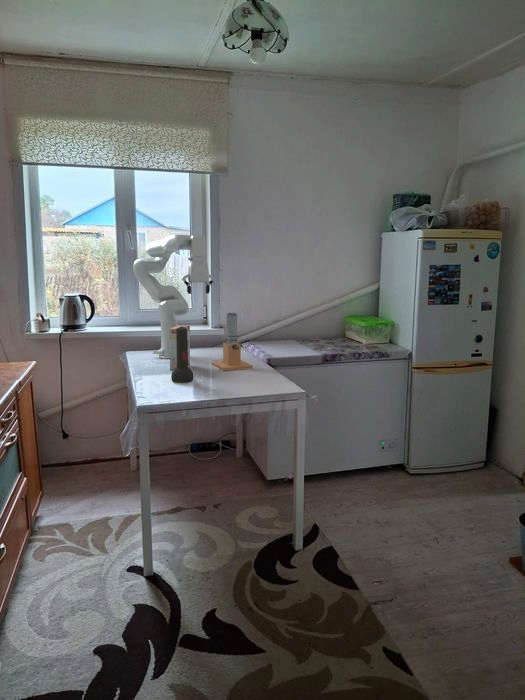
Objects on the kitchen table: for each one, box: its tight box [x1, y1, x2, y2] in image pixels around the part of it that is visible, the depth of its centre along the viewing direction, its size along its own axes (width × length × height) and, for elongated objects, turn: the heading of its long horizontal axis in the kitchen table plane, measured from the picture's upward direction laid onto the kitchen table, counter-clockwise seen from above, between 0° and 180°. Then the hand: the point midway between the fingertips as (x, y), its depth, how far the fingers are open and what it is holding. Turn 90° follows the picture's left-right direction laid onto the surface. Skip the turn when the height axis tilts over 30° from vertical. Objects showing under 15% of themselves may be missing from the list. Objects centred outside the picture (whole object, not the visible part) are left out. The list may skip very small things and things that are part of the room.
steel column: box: [225, 312, 239, 345], centre depth 255 cm, size 5×5×20 cm
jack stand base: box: [211, 342, 253, 372], centre depth 257 cm, size 16×16×12 cm
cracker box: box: [169, 324, 191, 371], centre depth 252 cm, size 14×6×21 cm, turn 168°
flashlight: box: [170, 326, 195, 384], centre depth 225 cm, size 10×25×10 cm
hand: (198, 293), depth 260 cm, fingers open, 9 cm apart
